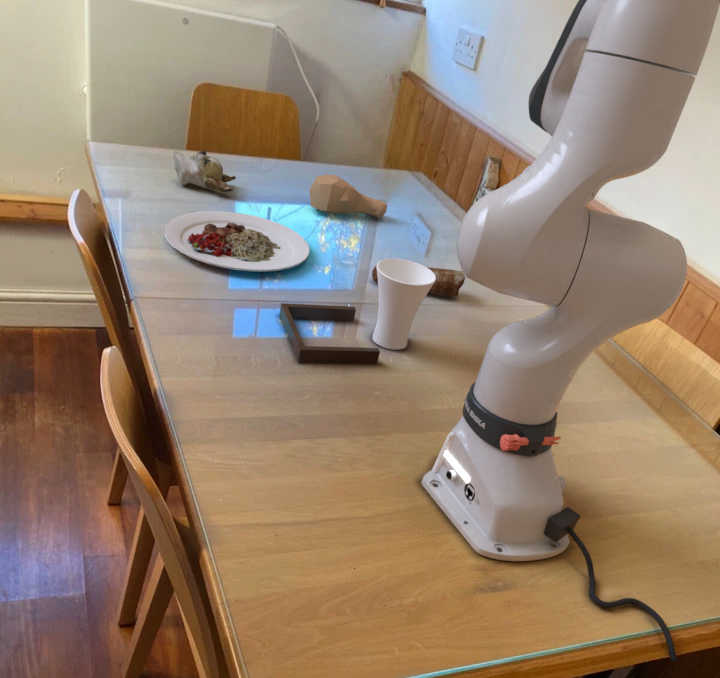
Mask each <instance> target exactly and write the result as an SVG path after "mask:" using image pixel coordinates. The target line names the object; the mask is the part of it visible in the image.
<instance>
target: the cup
mask: <svg viewBox="0 0 720 678" xmlns="http://www.w3.org/2000/svg"><path fill="white" fill-rule="evenodd" d="M376 265H377V266H376ZM376 265H375V266H376V267H377V277H378V283H377V288H378V313H377V320H376V324H375V328H374V331H373V334H372V341H373V342H374V343H375V344H377V345H378V346H380V347H381V348H385V349H388V350H393V351H394V350H397V351H398V350H403V349H405V348H406V347H407V346H408V341H409V333H410V330H411V328H412V325H413V322H414V320H415V316H416V314H417V312H418V310H419V308H420V306H421V305H422V303H423V301H424V300H425V298H426V297H427V295H428V292H429V290H430V289H431V287H432V285H433V284H434V282H435V281H436V276H435V274H434V273H433V272H432V271H431V270H430V269H428V268H429V267H428V268H427V266H425V265H423V264H421V263H418V262H416V261H414V260H413V261H412V260H409V259H402V258H384V259H381V260H379V261H378V262H376Z"/></svg>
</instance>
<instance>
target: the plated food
mask: <svg viewBox="0 0 720 678" xmlns="http://www.w3.org/2000/svg"><path fill="white" fill-rule="evenodd" d="M164 237H165V238H166V239H165V240H166V241H167V242H168V243H169V244H170V245H171V247H172V248H173V249H175V250H177V251H178V252H179V253H181V254H182V255H185V256H187V257H188V258H191V259H194V260H195V261H198V262H202V263H204V264H207V265H210V266H215V267H218V268H223V269H229V270H235V271H244V272H276V271H282V270H287V269H292V268H295V267H298V266H299V265H301V264H302V263H304V262H306V260H307V259H308V258H309V255H310V247H309V243H308V242H307V241H306V240H305V238H304V237H303V236H302V235H301V234H299V233H298V232H297V231H294V230H293V229H291V228H290V227H288V226H285V225H283V224H281V223H279V222H277V221H274V220H271V219H267V218H264V217H261V216H256V215H253V214H246V213H241V212H234V211H233V212H232V211H223V210H221V211H219V210H205V211H204V210H203V211H202V210H201V211H195V212H188V213H184V214H180V215H178V216H176V217H173V218H172V219H170V220H169V221H168V222H167V223H166V225H165V226H164Z"/></svg>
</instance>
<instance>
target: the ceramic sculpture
mask: <svg viewBox="0 0 720 678" xmlns="http://www.w3.org/2000/svg"><path fill="white" fill-rule="evenodd" d="M173 162H174V165H173V166H174V170H175V172H176V176H177V178H178V179H177V180H178V182H179V184H181V185H182V186H186V185H187V184H193V185H196V186H197V187H200V188H202V189H205V190H212V191H213V192H215V193H230V192H234V188H232V187H230V186H229V185H228V184H227V183H229V182H232V181H234V180H236V179H237V176H235V175H232V176H230V175H228V174H226V173H224V169H223V166H222V164H221V162H220V161H219V160H218V159H217V158H216V157H212V156H208V154H207V151H206V150H202V151H201V150H200V151H198V152H195V153H194V154H193V155H192V156H187V155H185V154H184V153H181V152H179V151H176V150H173Z"/></svg>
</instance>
